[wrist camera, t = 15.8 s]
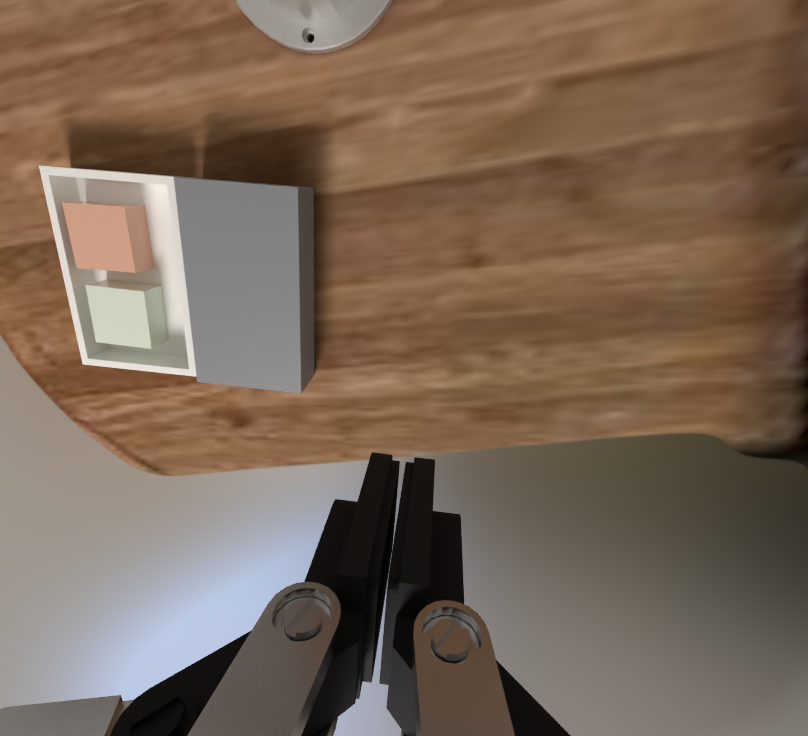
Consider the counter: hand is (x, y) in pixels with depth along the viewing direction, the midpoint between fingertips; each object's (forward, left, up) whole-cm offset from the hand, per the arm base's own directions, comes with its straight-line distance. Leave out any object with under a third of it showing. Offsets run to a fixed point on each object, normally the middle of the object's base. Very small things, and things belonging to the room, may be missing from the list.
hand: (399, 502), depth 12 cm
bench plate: (+1, -15, -27) cm, 31 cm away
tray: (+1, -25, -27) cm, 37 cm away
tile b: (+4, -26, -24) cm, 36 cm away
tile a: (-2, -26, -24) cm, 36 cm away
